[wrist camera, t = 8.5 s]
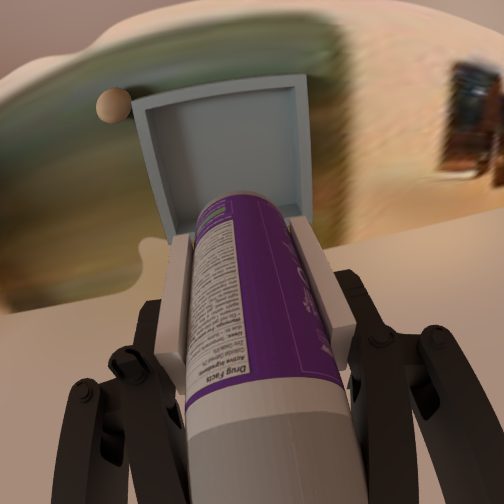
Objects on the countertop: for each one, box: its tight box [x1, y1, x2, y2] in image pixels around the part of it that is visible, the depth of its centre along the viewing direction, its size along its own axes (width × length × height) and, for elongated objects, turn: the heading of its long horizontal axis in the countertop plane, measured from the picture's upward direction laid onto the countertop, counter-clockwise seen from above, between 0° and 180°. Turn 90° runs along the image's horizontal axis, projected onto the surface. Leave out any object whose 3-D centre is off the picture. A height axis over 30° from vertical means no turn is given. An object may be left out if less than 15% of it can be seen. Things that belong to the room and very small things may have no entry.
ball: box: [96, 88, 132, 123], centre depth 22 cm, size 3×3×3 cm
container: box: [185, 190, 369, 504], centre depth 10 cm, size 5×5×15 cm
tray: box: [131, 73, 313, 245], centre depth 26 cm, size 14×14×3 cm
